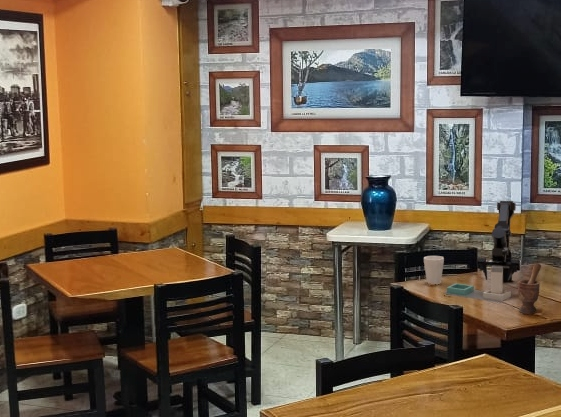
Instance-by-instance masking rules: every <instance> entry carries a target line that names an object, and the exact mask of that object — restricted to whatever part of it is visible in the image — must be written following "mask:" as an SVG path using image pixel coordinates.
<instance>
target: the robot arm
mask: <svg viewBox="0 0 561 417" xmlns="http://www.w3.org/2000/svg"><path fill="white" fill-rule="evenodd" d="M516 206H517V204H516V203H515V202H514V201H513V200H499V202H497V203H496V210H497V211H498V221H497V222H496V224H495V225H494V227H493V229H492V232H491V237H492V241H493V242H492V243H493V248H492V249H491V260H487V257H477V258H476V267H477V269H479V270H480V271H482V272H483V275H484V278H485V281H487V280H488V268H487V266H491V267H492V265H496V266H503V284H504V283H506V284H507V283H514V280H513V275H514V274H515V273H517V272H519V271H521V260H520V259H519V258H514V257H513V254H512V251H511V249H510V243H511V242H510V241H511V240H510V238H511V236H512V231H511V220H512V218H513V217H514V215H515V211H516V209H517V207H516Z"/></svg>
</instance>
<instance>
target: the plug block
mask: <svg viewBox="0 0 561 417" xmlns="http://www.w3.org/2000/svg"><path fill="white" fill-rule="evenodd" d="M490 272H491V273H490V276H491V277H490V281H491V282H490V289H491V293H492V294H499V295H502V294H503V290H504V288H503V285H504V283H503V266H496V265H492V266H491V270H490Z"/></svg>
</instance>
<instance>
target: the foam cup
mask: <svg viewBox="0 0 561 417" xmlns="http://www.w3.org/2000/svg"><path fill="white" fill-rule="evenodd" d="M444 261H445V258H444V256H440V255H427V256H424V257H423V263H424V264H423V265H424V271H425V277H426V278H425V279H426V283H427V282H428V283H431V284H439V283H442V277H443V276H442V275H443V269H444V263H445V262H444Z"/></svg>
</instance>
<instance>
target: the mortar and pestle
mask: <svg viewBox="0 0 561 417" xmlns="http://www.w3.org/2000/svg"><path fill="white" fill-rule="evenodd" d="M541 268H542V265H541V264H540V263H537V262H536V263H535V264H534V265H533V268H532V271H531V275H530V278H529V279H520V280H518V282H517V295H518V297H519V300H520V301H521V303H522V305H521V306H520V307H519V308H518V312H519V313H520V314H521V313H522V314H523V315H534V314H536V313H537V310H538V309H537V307H535V303H536V302H537V301H538V299H539V296H540V289H541V288H540V285H541V284H540V281H538V280H536V279H537V277H538V274H539V273H540V271H541Z"/></svg>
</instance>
